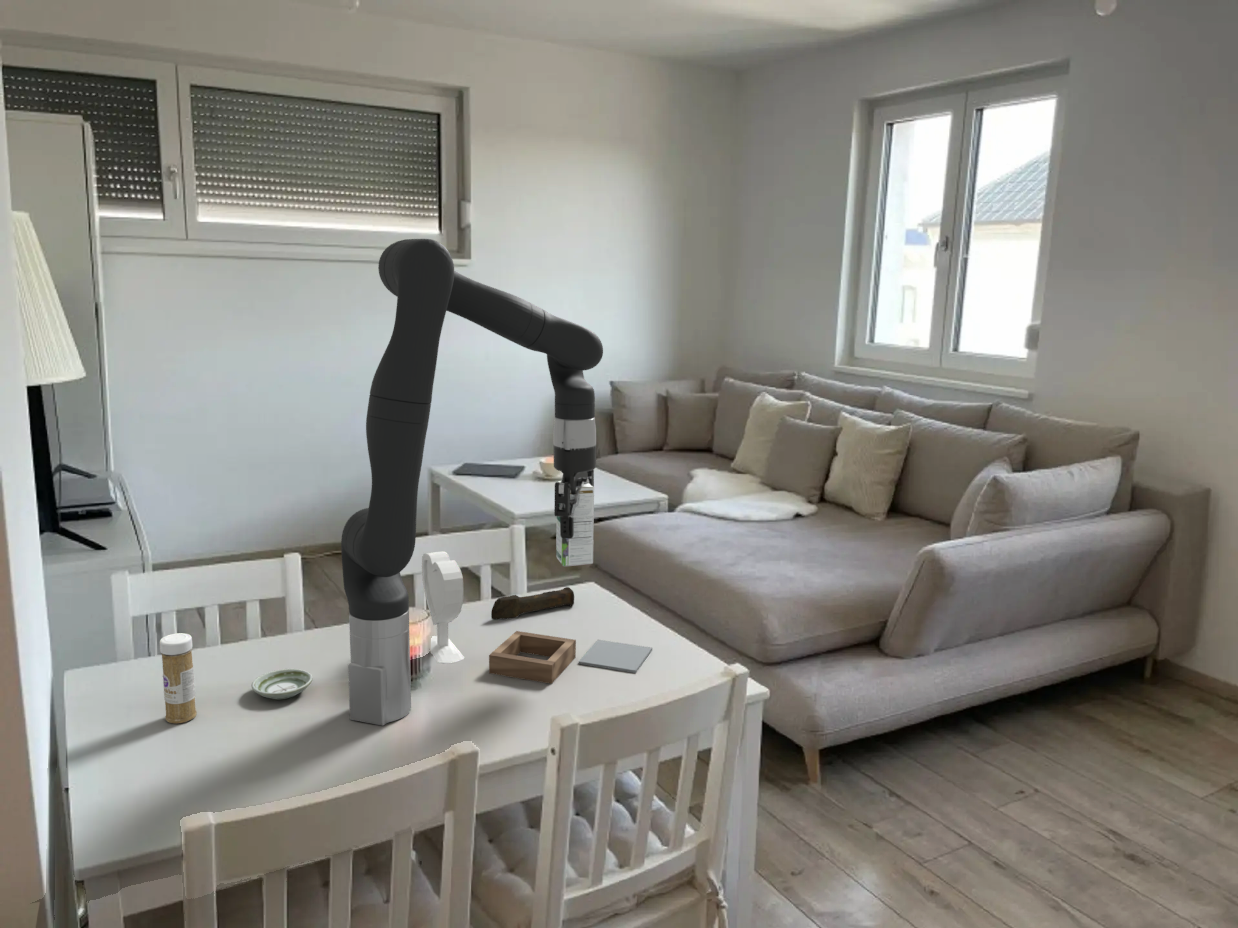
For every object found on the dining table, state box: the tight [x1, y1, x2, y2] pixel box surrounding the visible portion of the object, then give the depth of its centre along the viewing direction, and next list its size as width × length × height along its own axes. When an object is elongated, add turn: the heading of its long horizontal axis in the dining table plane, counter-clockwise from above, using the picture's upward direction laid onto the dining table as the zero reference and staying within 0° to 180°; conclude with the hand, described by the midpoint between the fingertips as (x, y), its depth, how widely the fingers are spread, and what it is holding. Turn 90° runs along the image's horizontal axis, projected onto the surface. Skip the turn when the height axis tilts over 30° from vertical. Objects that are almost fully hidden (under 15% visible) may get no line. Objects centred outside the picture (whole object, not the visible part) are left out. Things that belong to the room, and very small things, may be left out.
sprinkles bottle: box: [159, 632, 198, 724], centre depth 144 cm, size 5×5×13 cm
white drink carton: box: [555, 480, 595, 567], centre depth 165 cm, size 6×6×14 cm
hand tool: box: [490, 586, 575, 620], centre depth 194 cm, size 19×4×5 cm, turn 122°
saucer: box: [251, 668, 314, 700], centre depth 155 cm, size 10×10×2 cm
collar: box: [488, 630, 577, 685], centre depth 168 cm, size 12×12×4 cm
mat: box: [578, 639, 653, 674], centre depth 173 cm, size 11×11×1 cm
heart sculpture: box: [421, 551, 465, 664], centre depth 172 cm, size 16×5×18 cm, turn 27°
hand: (575, 531), depth 165 cm, fingers closed on white drink carton, 8 cm apart
